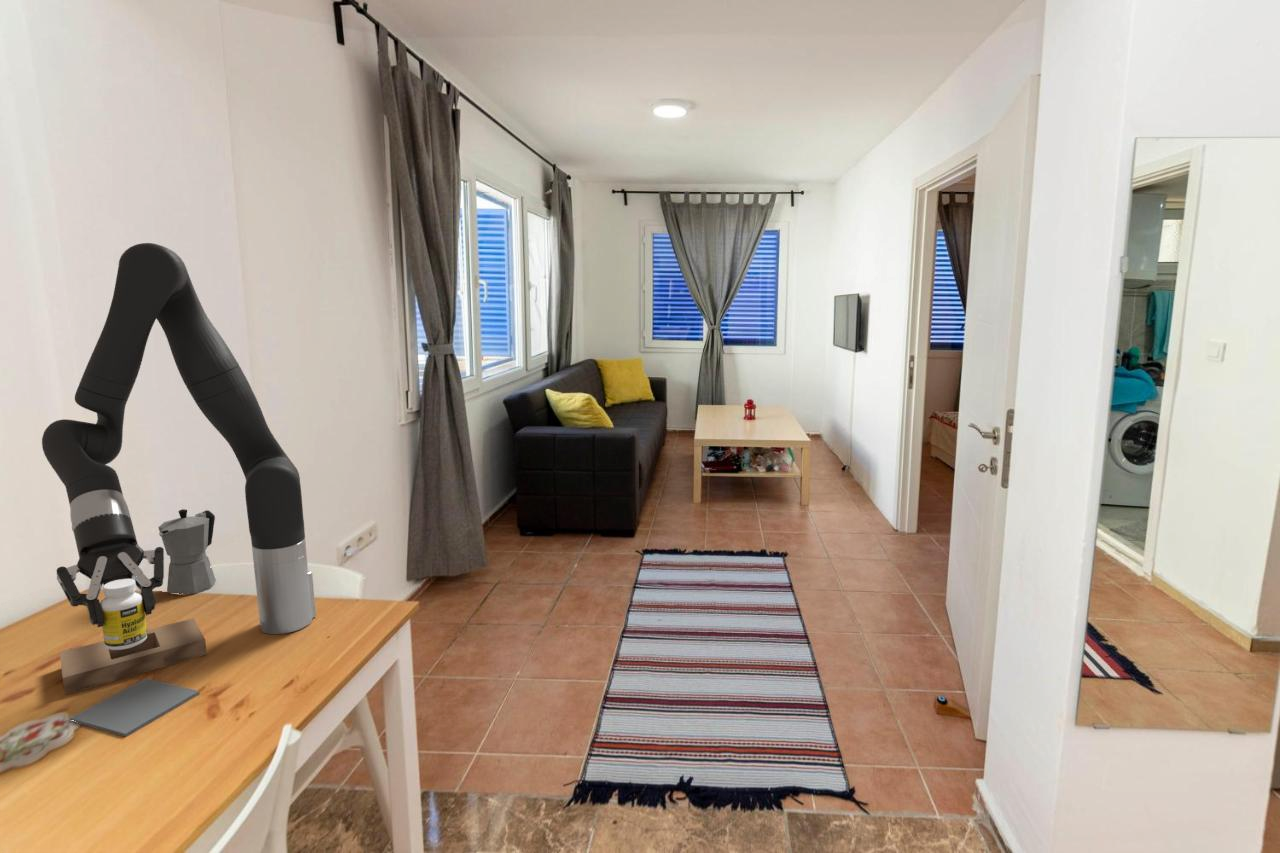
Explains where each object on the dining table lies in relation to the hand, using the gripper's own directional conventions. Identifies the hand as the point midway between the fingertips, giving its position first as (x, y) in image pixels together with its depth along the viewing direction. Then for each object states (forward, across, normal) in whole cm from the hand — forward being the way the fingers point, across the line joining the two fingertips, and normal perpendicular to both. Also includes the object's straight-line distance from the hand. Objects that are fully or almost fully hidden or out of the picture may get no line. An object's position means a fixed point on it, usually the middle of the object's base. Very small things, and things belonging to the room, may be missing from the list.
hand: (125, 618), depth 107 cm
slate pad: (+10, 0, +12) cm, 16 cm away
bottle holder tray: (-2, +3, +24) cm, 25 cm away
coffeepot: (-23, +18, +46) cm, 55 cm away
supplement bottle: (+2, 0, +5) cm, 5 cm away
